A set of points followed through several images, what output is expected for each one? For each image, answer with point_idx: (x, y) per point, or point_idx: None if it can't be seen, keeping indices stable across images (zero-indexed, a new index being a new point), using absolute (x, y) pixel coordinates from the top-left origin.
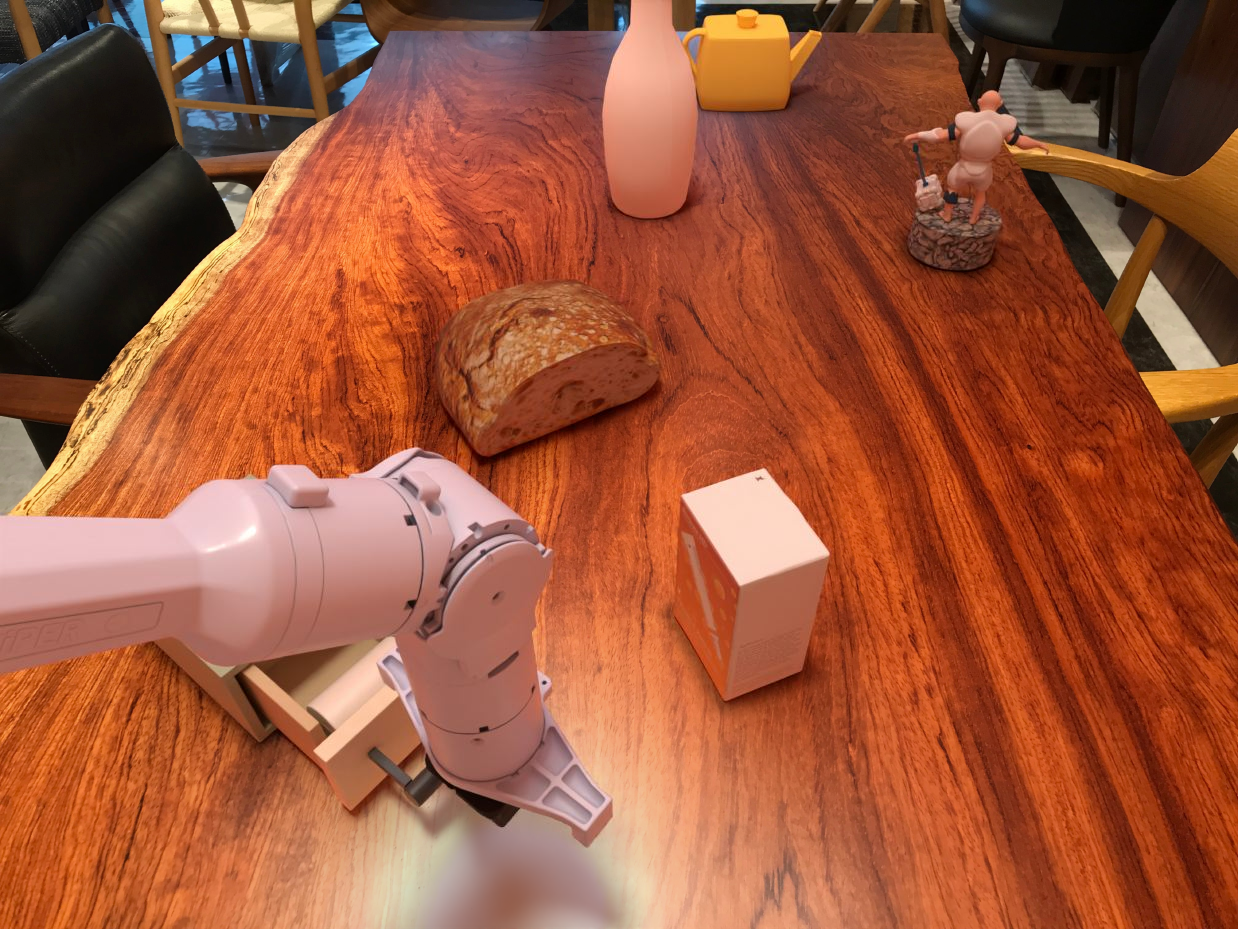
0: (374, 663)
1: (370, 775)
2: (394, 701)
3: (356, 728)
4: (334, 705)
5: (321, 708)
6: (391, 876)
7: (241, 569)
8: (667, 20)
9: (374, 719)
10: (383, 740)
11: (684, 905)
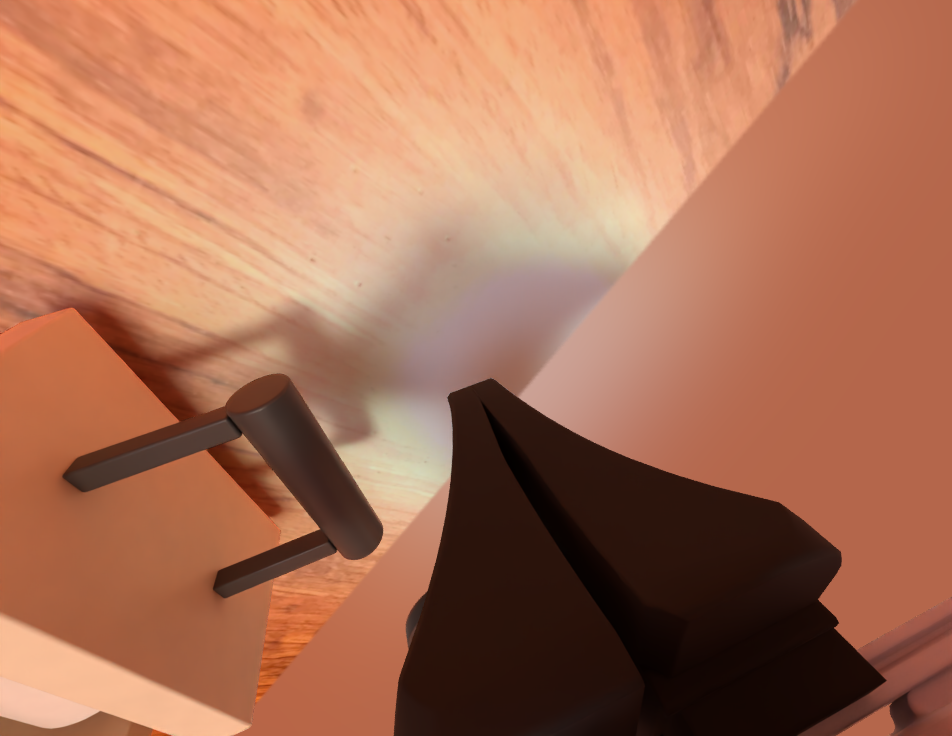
0: None
1: (246, 538)
2: (111, 653)
3: (180, 706)
4: (59, 709)
5: (60, 723)
6: (392, 484)
7: None
8: None
9: (165, 681)
10: (199, 571)
11: (687, 177)
